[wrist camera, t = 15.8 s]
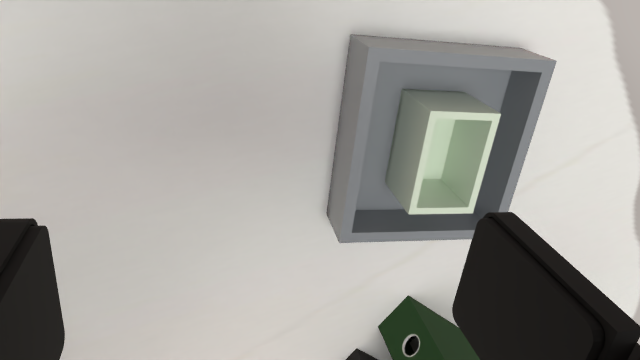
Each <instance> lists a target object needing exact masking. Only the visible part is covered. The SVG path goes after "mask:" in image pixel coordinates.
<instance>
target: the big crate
mask: <svg viewBox="0 0 640 360" xmlns="http://www.w3.org/2000/svg"><path fill="white" fill-rule="evenodd" d="M555 64H556V61H555V60H553V59H550V58H547V57H544V56H541V55H539V54H536V53H533V52H530V51H527V50H524V49H522V48H512V47H499V46H487V45H474V44H462V43H449V42H437V41H424V40H412V39H399V38H387V37H374V36H362V35H350V43H349V50H348V58H347V65H346V73H345V80H344V88H343V95H342V103H341V110H340V118H339V125H338V133H337V140H336V148H335V155H334V163H333V170H332V178H331V185H330V193H329V200H328V207H327V216H328V218H329V221H330V223H331V225H332V227H333V230H334V232H335V234H336V237H337V239H338V241H339V243H351V242H386V241H422V240H457V239H472V238H473V235H474V232H475V228H476V225H477V222H478V221H479V220H480V219H482V218H483V217H484V216H485V214H487V213H489V212H508V210H509V207H510V204H511V201H512V197H513V194H514V191H515V188H516V185H517V182H518V179H519V176H520V173H521V170H522V167H523V163H524V160H525V157H526V154H527V151H528V148H529V145H530V142H531V139H532V136H533V132H534V129H535V126H536V123H537V120H538V117H539V114H540V111H541V108H542V105H543V102H544V98H545V95H546V92H547V89H548V86H549V83H550V80H551V77H552V74H553V71H554V67H555ZM402 89H417V90H437V91H457V92H466V93H467V94H469V95H471V96H472V97H474V98H476V99H477V100H479V101H481V102H482V103H484V104H486V105H487V106H489V107H491V108H492V109H494V110H496V111H497V112H499V113H501V116H500V119H499V123H498V127H497V130H496V134H495V137H494V141H493V144H492V148H491V151H490V155H489V158H488V162H487V165H486V169H485V172H484V176H483V179H482V183H481V186H480V190H479V193H478V197H477V200H476V204H475V207H474V211H473V213H464V214H408V213H407V212H406V211H405V209H404V208H403V206H402V205H401V204H400V202H399V201H398V200H397V198H396V197H395V196H394V194H393V193H392V191H391V190H390V189H389V187H388V186H387V185H386V183H385V178H386V172H387V167H388V161H389V156H390V151H391V145H392V140H393V134H394V129H395V124H396V118H397V113H398V107H399V102H400V97H401V91H402Z"/></svg>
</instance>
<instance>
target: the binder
mask: <svg viewBox="0 0 640 360" xmlns="http://www.w3.org/2000/svg"><path fill="white" fill-rule="evenodd" d="M378 327H379V330H380V332H381V334H382V336H383V339H384V341H385V343H386V345H387V348H388V350H389V352H390V354H391V357H392V359H393V360H480V359H479V357H478V356H477V354H476V353H475V351H474V350H473V348H472V346H471V345H470V343H469V342H468V340H467V339H466V337H465V336H464V334H463V333H462V331H461V330H460V328H459V327H457V326H455V325H454V324H452V323H451V322H449V321H448V320H446V319H444V318H443V317H441V316H440V315H438V314H437V313H435V312H433V311H432V310H430V309H429V308H427V307H426V306H424V305H422V304H421V303H419V302H418V301H416V300H415V299H413V298H411V297H410V296H407V297H406V298H405V299H404V300H403V301H402V302H401V303H400V304H399V305H398V307H397V308H396V309H395V310H394V311H393V312H392V313H391V314H390V315H389V316H388V317H387V318H386V319H385V320H384V321H383V322H382V323H381V324H380V325H379V326H378ZM412 336H416V337H415V338H414V339H413V340H412V339H410V338H411V337H412ZM346 360H378V359H376V358H374V357H372V356H370V355H368V354H366V353H365V352H363V351H361V350H359V349H356V350H355V351H354V352H353V353H352V354H351V355H350V356H349V357H348V358H347V359H346Z"/></svg>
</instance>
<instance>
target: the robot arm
mask: <svg viewBox="0 0 640 360" xmlns="http://www.w3.org/2000/svg"><path fill="white" fill-rule="evenodd" d="M452 312H453V317H454V320H455V322H456V323H457V325H458V326H459V328H460V330H461V331H462V333H463V334H464V336H465V337H466V339H467V340H468V342H469V343H470V345H471V346H472V348H473V350H474V351H475V353H476V354H477V356H478V357H479V359H480V360H640V345H639V344H638V343H637V341H638V339H639V337H640V326H639V325H638V324H637V323H636V322H635V321H634V320H632V319H631V318H630V317H629V316H628V315H627V314H626V313H625V312H623V311H622V310H621V309H620V308H619V307H618V306H617V305H616V304H615V303H613V302H612V301H611V300H610V299H609V298H608V297H607V296H606V295H605V294H603V293H602V292H601V291H600V290H599V289H598V288H597V287H596V286H594V285H593V284H592V283H591V282H590V281H589V280H588V279H587V278H586V277H584V276H583V275H582V274H581V273H580V272H579V271H578V270H577V269H576V268H574V267H573V266H572V265H571V264H570V263H569V262H568V261H567V260H565V259H564V258H563V257H562V256H561V255H560V254H559V253H558V252H557V251H555V250H554V249H553V248H552V247H551V246H550V245H549V244H548V243H547V242H545V241H544V240H543V239H542V238H541V237H540V236H539V235H538V234H536V233H535V232H534V231H533V230H532V229H531V228H530V227H529V226H528V225H526V224H525V223H524V222H523V221H522V220H521V219H520V218H519V217H518V216H516V215H515V214H514V213H512V212H489V213H487V214H485V216H484V217H483V218H482V219H480V220H479V221H478V222H477V225H476V228H475V232H474V235H473V238H472V242H471V245H470V249H469V252H468V255H467V259H466V262H465V266H464V269H463V272H462V276H461V279H460V283H459V286H458V289H457V293H456V296H455V300H454V303H453V308H452ZM64 338H65V333H64V325H63V319H62V313H61V307H60V300H59V294H58V288H57V282H56V276H55V269H54V263H53V257H52V251H51V245H50V238H49V233H48V229H47V227H46V226H38V225H37V222H36V220H34V219H0V360H59V359H60V356H61V353H62V350H63V346H64Z"/></svg>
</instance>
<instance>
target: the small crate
mask: <svg viewBox="0 0 640 360" xmlns="http://www.w3.org/2000/svg"><path fill="white" fill-rule="evenodd" d="M500 116H501V113H499V112H497V111H496V110H494V109H492V108H491V107H489V106H487V105H486V104H484V103H482V102H481V101H479V100H477V99H476V98H474V97H472V96H471V95H469V94H467V93H466V92H457V91H437V90H417V89H402V91H401V97H400V102H399V107H398V113H397V118H396V124H395V129H394V134H393V140H392V145H391V151H390V156H389V161H388V167H387V172H386V178H385V183H386V185H387V186H388V187H389V189H390V190H391V191H392V193H393V194H394V196H395V197H396V198H397V200H398V201H399V202H400V204H401V205H402V206H403V208H404V209H405V211H406V212H407V213H408V214H464V213H473V211H474V207H475V204H476V200H477V197H478V193H479V190H480V186H481V183H482V179H483V176H484V172H485V169H486V165H487V162H488V158H489V155H490V151H491V148H492V144H493V141H494V137H495V134H496V130H497V127H498V123H499V119H500Z"/></svg>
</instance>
